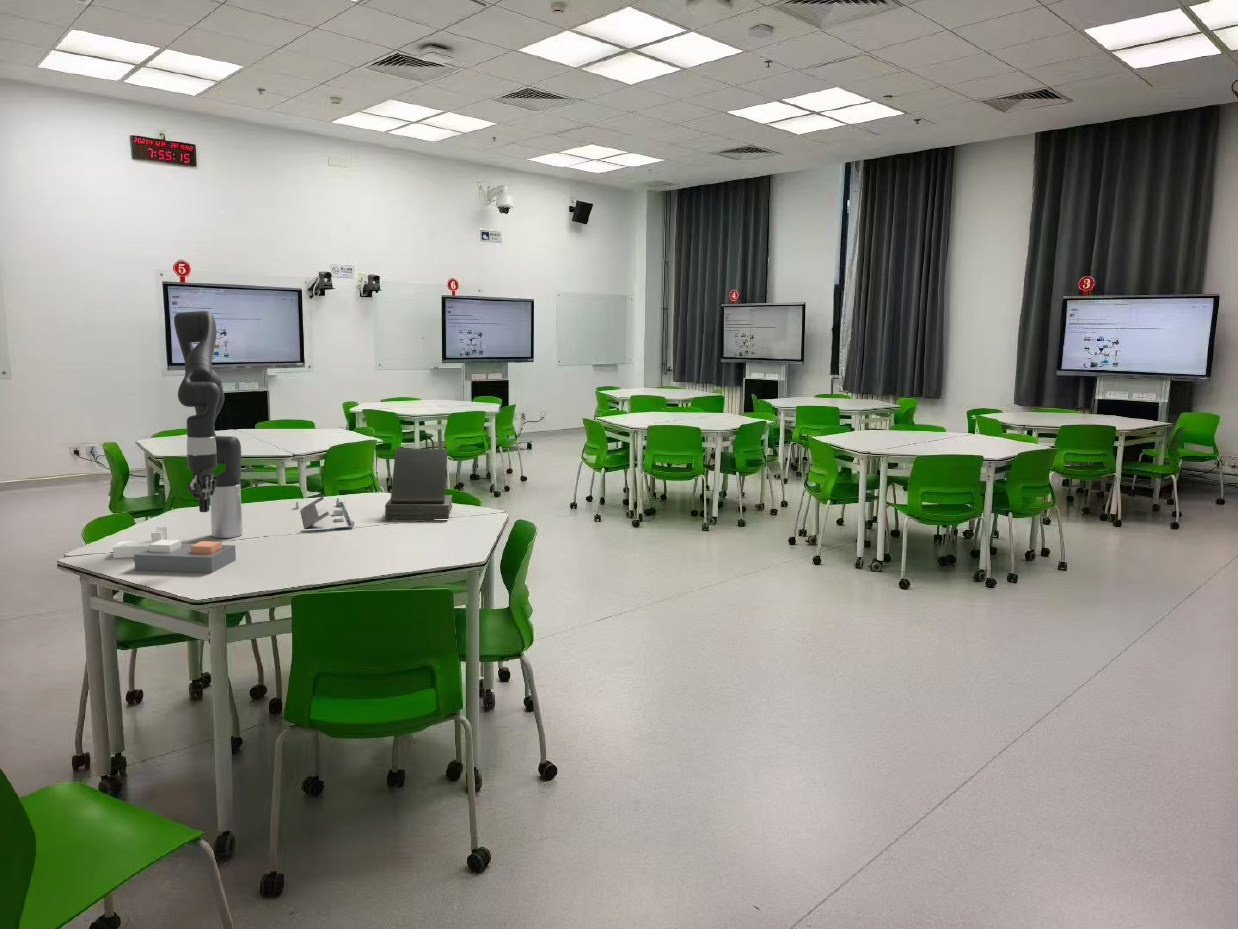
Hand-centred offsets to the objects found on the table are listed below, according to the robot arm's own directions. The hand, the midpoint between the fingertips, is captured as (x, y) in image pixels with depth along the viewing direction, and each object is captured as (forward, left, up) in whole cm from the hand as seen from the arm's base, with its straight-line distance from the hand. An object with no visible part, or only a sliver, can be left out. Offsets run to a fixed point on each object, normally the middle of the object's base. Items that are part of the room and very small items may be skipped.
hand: (204, 511), depth 239 cm
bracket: (-10, -25, -17) cm, 32 cm away
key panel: (0, -6, -16) cm, 17 cm away
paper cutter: (-66, +9, -17) cm, 69 cm away
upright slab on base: (-78, +42, -17) cm, 90 cm away
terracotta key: (0, 0, -13) cm, 13 cm away
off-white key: (0, -12, -13) cm, 18 cm away
